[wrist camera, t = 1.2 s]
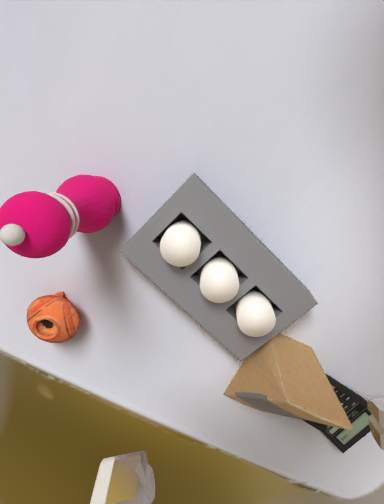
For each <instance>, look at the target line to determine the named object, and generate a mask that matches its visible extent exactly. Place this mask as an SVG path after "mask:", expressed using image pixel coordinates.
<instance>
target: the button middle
mask: <svg viewBox="0 0 384 504" xmlns="http://www.w3.org/2000/svg"><path fill="white" fill-rule="evenodd" d="M200 290H201V292H202V294H203V295H204V297H205V298H207V299H208V300H210V301H212V302H215V303H224V302H227V301H230V300H231V299H233V298H234V297H235V296H236V294H237V293H238V290H239V279H238V274H237V269H236V266H235V264H234V263H233V262H232V261H231V260H230V259H229V258H227V257H224V256H214V257H211V258H210V259H209V260H208V261H207V262H206V263H205V264H203V266H202V269H201V277H200Z"/></svg>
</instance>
